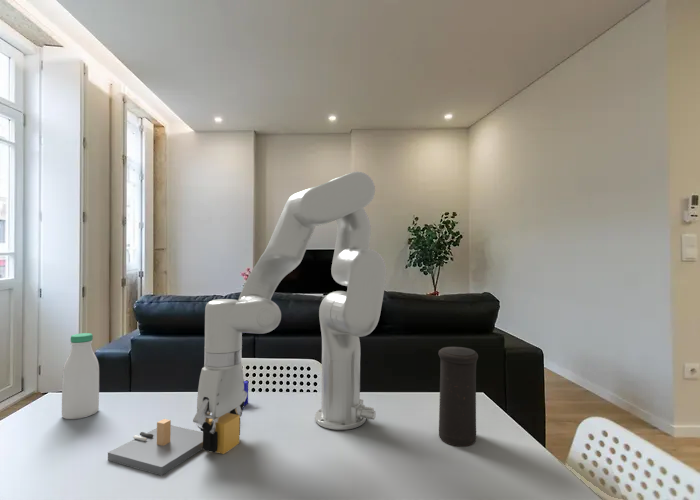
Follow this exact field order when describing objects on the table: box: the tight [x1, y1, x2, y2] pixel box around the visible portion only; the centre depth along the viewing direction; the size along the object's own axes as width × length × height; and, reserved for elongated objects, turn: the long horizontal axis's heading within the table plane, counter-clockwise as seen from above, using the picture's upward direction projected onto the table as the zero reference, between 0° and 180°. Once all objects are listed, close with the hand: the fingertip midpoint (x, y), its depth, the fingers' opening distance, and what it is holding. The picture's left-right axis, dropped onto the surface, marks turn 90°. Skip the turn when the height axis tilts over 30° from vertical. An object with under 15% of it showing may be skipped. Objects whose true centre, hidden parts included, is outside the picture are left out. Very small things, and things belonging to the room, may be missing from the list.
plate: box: [107, 418, 203, 476], centre depth 81 cm, size 14×14×6 cm
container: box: [438, 346, 479, 447], centre depth 88 cm, size 9×9×20 cm
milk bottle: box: [61, 332, 100, 420], centre depth 99 cm, size 8×8×20 cm
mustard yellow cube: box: [208, 413, 241, 455], centre depth 83 cm, size 5×5×6 cm
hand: (222, 441), depth 83 cm, fingers open, 6 cm apart
